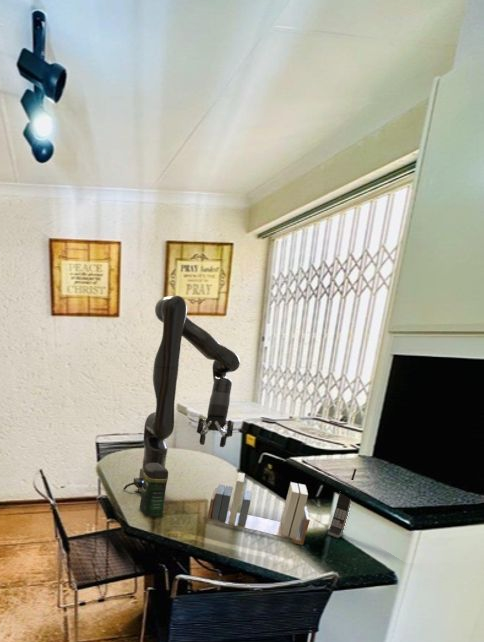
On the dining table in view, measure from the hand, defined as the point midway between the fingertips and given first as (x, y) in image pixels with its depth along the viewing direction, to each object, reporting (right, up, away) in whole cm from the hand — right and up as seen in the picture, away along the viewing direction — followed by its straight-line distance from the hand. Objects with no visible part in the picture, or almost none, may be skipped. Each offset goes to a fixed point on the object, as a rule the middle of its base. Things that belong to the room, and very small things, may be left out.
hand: (211, 445), depth 153 cm
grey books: (+4, -27, -11) cm, 29 cm away
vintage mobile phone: (+41, -33, -14) cm, 54 cm away
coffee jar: (-25, -25, -9) cm, 37 cm away
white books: (+22, -31, -17) cm, 42 cm away
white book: (+5, -27, -11) cm, 30 cm away
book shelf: (+12, -30, -13) cm, 35 cm away
